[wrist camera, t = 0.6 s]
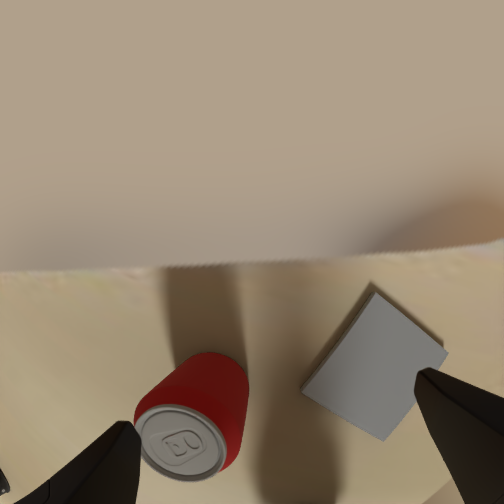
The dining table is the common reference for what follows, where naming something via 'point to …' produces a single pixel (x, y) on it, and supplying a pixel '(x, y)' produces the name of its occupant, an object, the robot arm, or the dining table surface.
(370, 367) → the trivet
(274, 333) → the dining table surface
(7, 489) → the milk frother
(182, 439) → the beverage can
